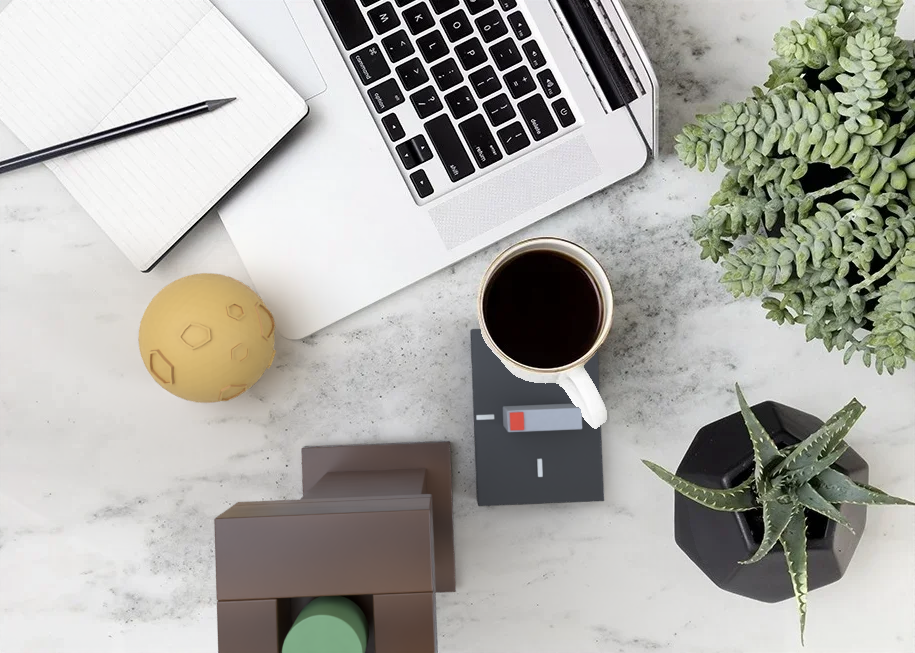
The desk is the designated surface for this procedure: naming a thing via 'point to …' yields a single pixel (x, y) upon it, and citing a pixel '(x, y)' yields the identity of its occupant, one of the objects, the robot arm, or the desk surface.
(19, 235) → the desk surface
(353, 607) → the green button
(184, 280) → the stress ball
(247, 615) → the brown blocky frame
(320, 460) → the post
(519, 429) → the block
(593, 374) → the gadget
